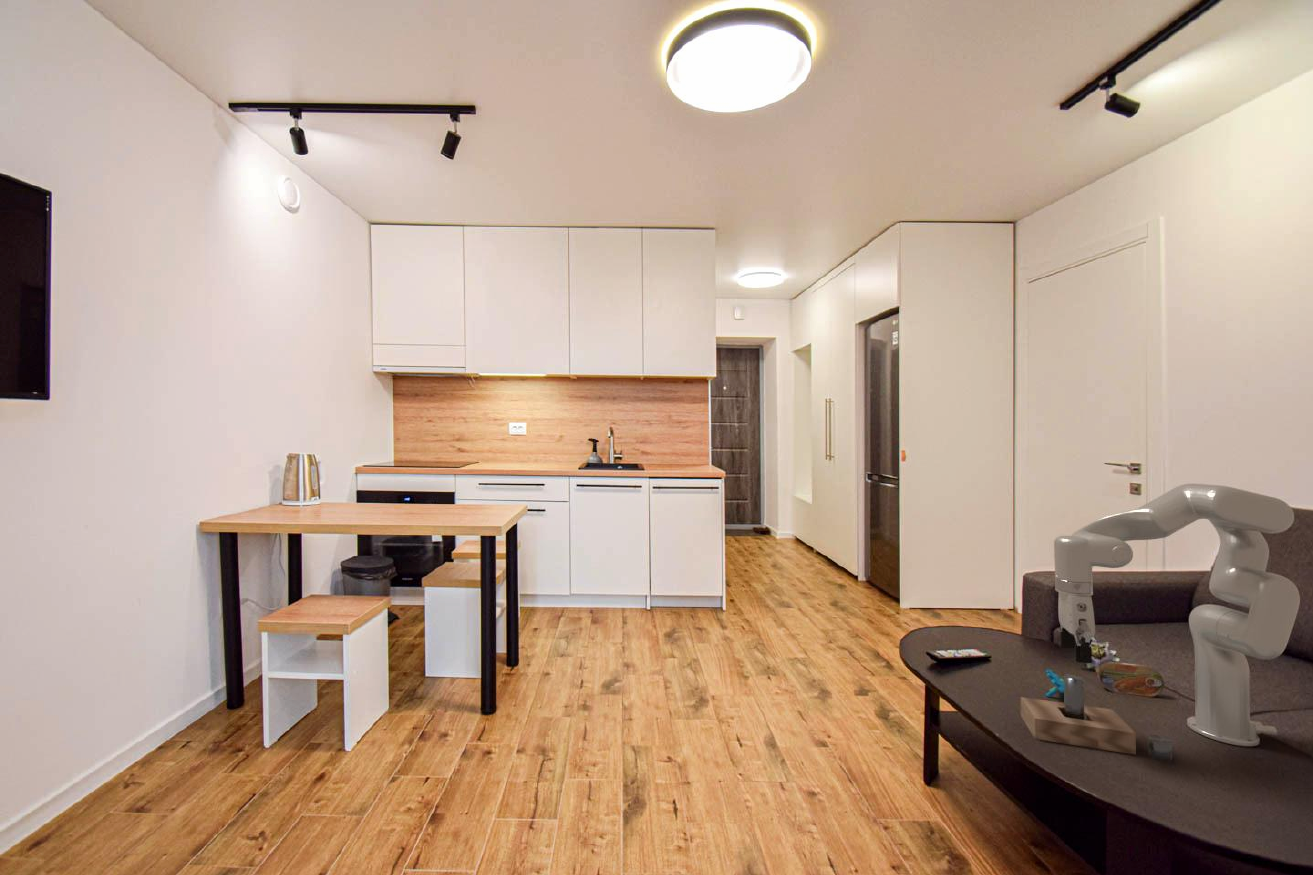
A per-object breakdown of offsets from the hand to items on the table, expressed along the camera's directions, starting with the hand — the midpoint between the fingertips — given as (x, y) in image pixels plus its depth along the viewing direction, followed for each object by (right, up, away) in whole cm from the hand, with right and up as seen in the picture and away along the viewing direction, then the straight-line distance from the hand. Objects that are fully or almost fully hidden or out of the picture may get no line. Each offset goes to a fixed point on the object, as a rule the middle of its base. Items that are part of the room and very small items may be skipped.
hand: (1075, 654), depth 136 cm
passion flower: (+37, -21, +40) cm, 59 cm away
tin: (+33, -20, +23) cm, 45 cm away
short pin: (+12, -20, -10) cm, 25 cm away
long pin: (0, -20, 0) cm, 20 cm away
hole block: (-1, -20, 0) cm, 20 cm away
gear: (+10, -20, +19) cm, 29 cm away
